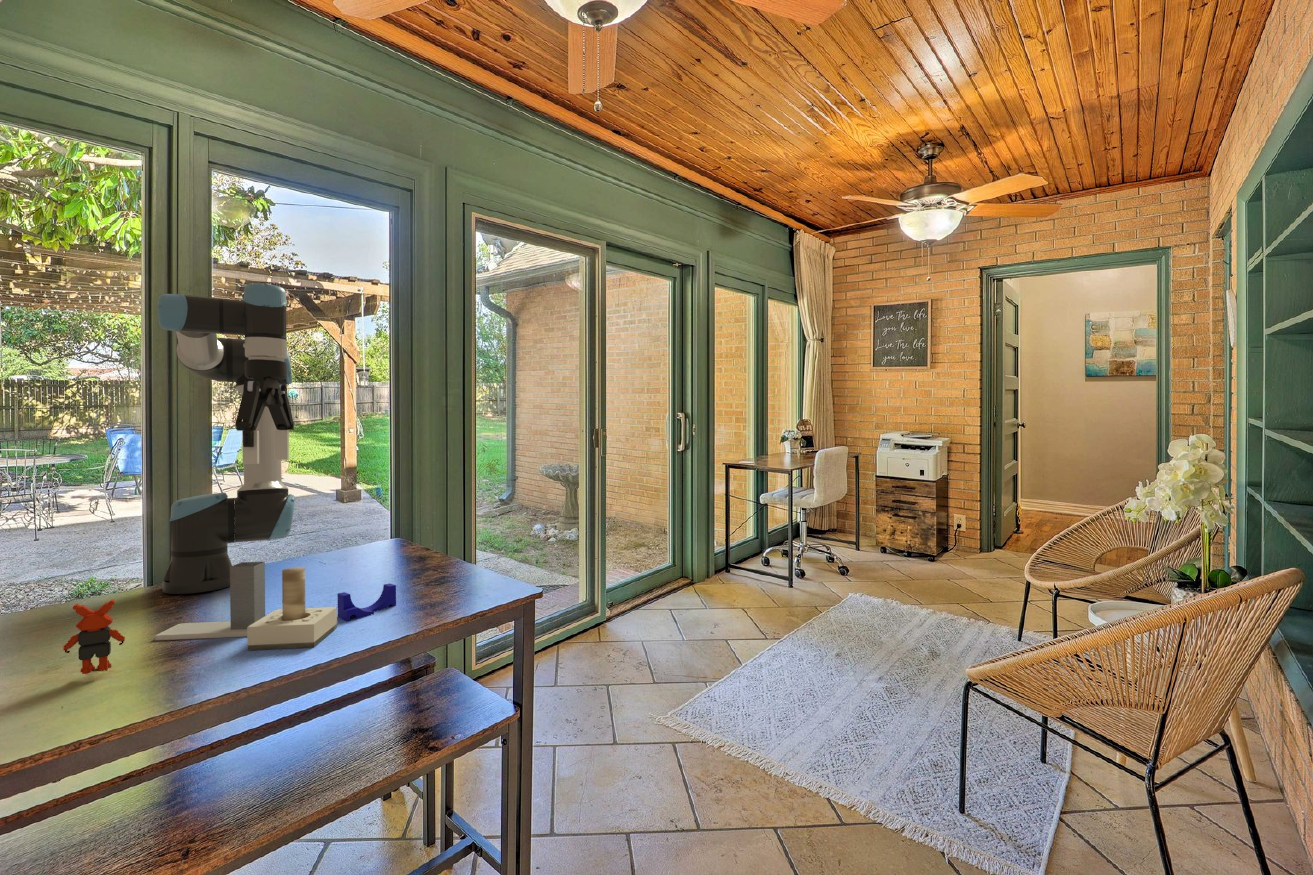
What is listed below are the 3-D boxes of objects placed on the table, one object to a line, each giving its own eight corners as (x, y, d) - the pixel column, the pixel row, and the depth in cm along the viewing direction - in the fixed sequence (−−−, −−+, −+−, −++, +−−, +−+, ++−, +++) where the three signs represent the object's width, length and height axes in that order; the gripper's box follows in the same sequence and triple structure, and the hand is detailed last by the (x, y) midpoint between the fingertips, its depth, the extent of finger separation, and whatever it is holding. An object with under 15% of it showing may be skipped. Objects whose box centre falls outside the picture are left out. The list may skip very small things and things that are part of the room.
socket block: (276, 630, 132) (276, 609, 132) (337, 628, 134) (336, 606, 134) (247, 650, 120) (247, 626, 120) (314, 647, 122) (313, 624, 122)
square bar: (242, 622, 134) (241, 562, 134) (265, 621, 135) (264, 561, 135) (230, 629, 130) (229, 566, 130) (254, 628, 130) (253, 566, 130)
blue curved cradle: (346, 624, 137) (346, 596, 137) (337, 620, 140) (337, 593, 140) (399, 611, 146) (399, 586, 146) (389, 608, 149) (389, 583, 149)
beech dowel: (288, 630, 129) (287, 567, 129) (308, 630, 129) (308, 567, 129) (279, 637, 125) (278, 572, 125) (300, 636, 125) (300, 571, 125)
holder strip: (179, 628, 134) (179, 623, 134) (280, 623, 137) (280, 619, 137) (155, 640, 126) (155, 635, 126) (262, 635, 129) (262, 630, 129)
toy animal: (127, 659, 116) (126, 594, 116) (124, 668, 111) (123, 600, 111) (68, 668, 111) (67, 601, 111) (62, 678, 107) (61, 608, 107)
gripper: (274, 365, 143) (275, 458, 143) (213, 353, 118) (214, 465, 119) (309, 365, 144) (310, 458, 144) (256, 353, 119) (257, 465, 120)
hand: (267, 461), depth 131 cm, fingers open, 13 cm apart
